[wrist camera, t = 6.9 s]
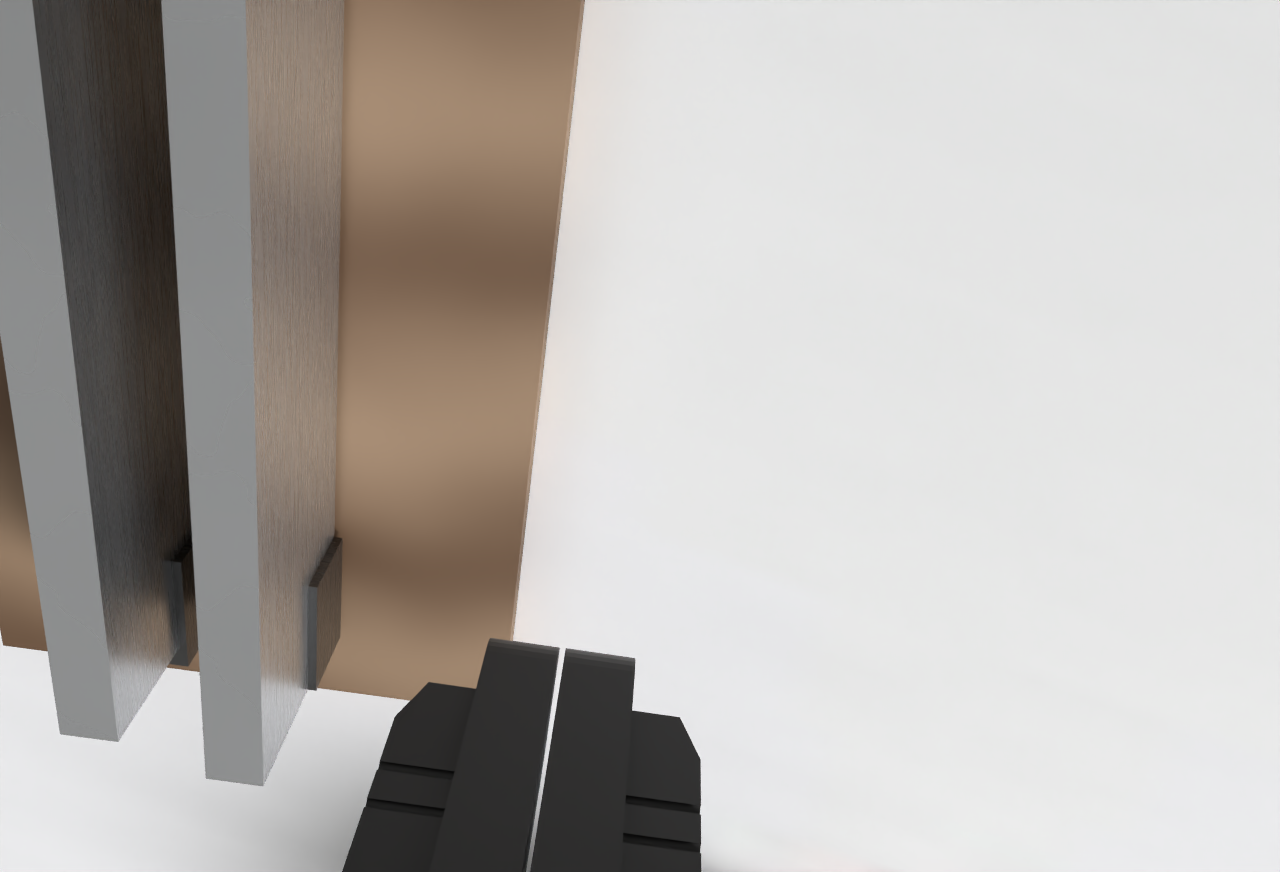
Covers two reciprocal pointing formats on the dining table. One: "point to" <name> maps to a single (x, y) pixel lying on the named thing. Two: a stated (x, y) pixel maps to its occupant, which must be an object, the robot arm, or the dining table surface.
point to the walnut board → (421, 334)
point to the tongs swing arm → (258, 353)
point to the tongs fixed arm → (96, 348)
